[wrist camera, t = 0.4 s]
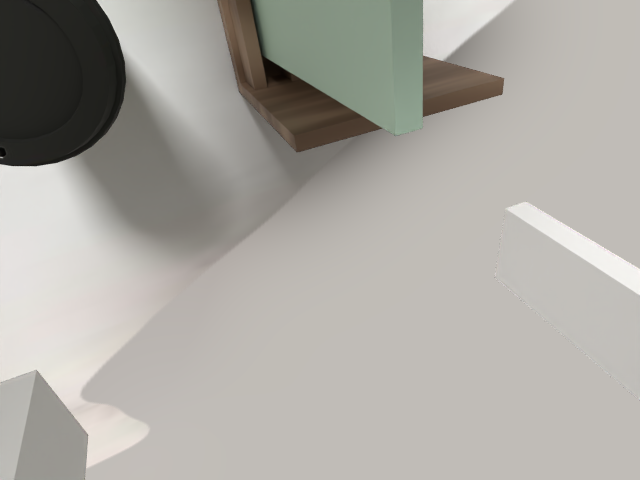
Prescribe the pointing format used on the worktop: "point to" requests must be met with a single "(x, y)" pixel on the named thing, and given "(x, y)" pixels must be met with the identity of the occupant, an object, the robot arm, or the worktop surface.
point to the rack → (317, 107)
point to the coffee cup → (56, 79)
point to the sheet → (351, 53)
